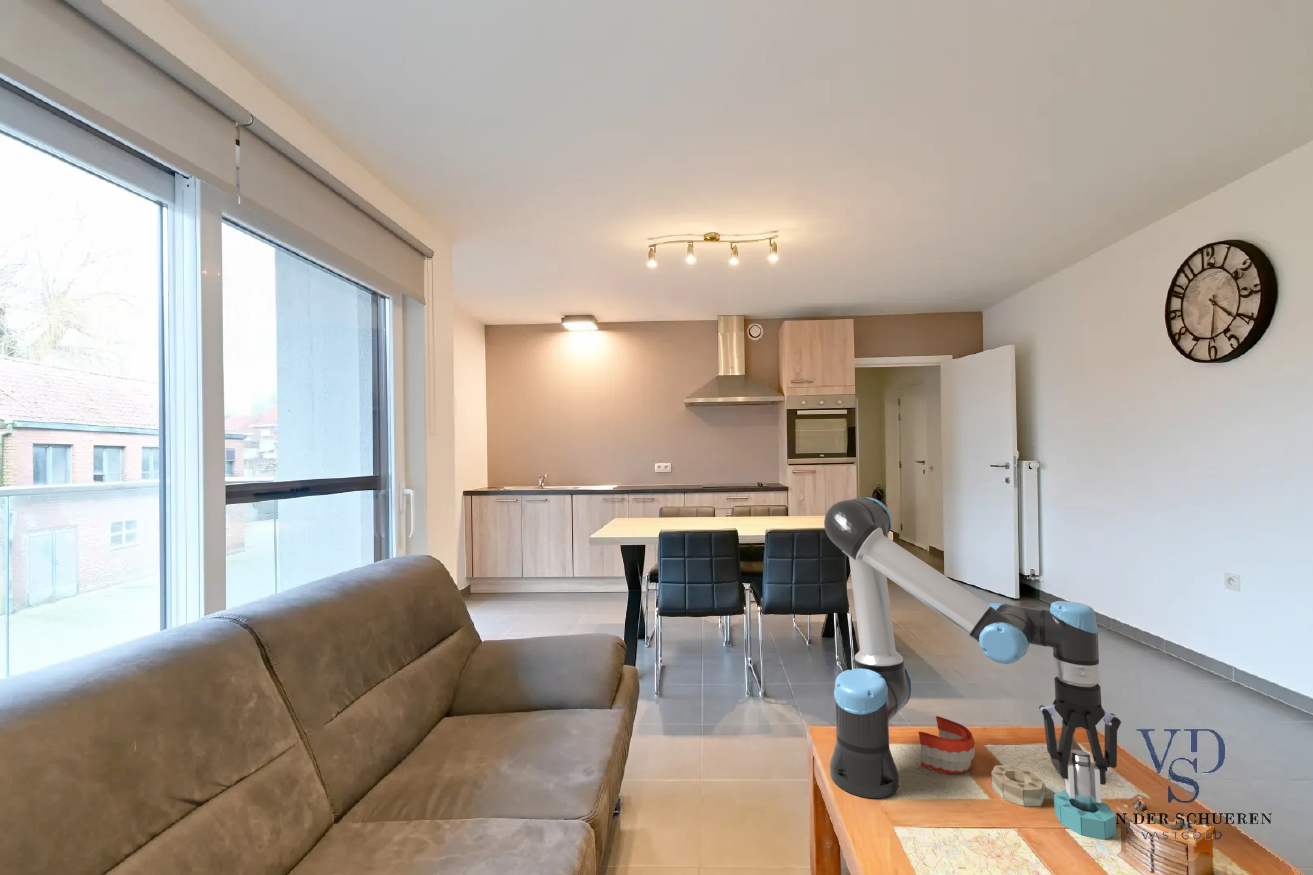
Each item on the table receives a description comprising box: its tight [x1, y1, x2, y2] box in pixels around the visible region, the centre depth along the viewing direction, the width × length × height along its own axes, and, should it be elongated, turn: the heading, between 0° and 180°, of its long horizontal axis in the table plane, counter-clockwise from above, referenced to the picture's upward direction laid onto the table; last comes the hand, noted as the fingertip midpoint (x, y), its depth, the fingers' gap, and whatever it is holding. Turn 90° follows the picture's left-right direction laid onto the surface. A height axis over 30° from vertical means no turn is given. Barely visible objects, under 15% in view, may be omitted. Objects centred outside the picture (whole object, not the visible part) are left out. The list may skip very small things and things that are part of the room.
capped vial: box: [1071, 749, 1093, 813], centre depth 111 cm, size 3×3×14 cm
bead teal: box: [1053, 789, 1117, 841], centre depth 110 cm, size 9×9×4 cm
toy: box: [917, 715, 976, 775], centre depth 132 cm, size 12×10×8 cm
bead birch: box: [991, 764, 1045, 807], centre depth 120 cm, size 9×9×4 cm
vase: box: [1049, 734, 1084, 773], centre depth 127 cm, size 7×7×9 cm
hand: (1083, 796), depth 111 cm, fingers open, 4 cm apart
